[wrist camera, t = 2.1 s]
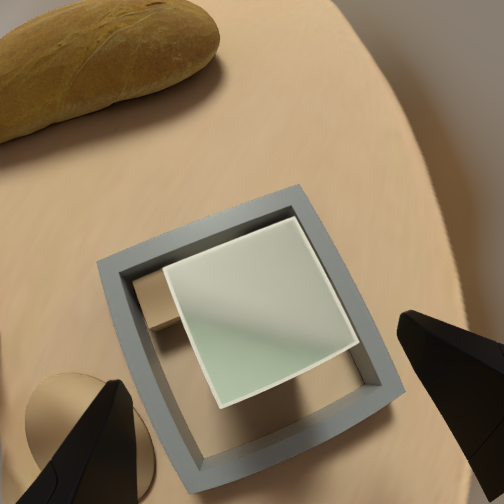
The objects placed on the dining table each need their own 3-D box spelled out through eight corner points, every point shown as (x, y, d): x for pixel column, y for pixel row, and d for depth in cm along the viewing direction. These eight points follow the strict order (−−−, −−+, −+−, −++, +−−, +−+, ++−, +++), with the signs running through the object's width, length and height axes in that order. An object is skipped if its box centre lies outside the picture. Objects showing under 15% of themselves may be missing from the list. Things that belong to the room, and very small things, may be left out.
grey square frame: (386, 389, 17) (405, 391, 15) (195, 479, 15) (189, 494, 12) (292, 203, 21) (299, 183, 19) (111, 274, 19) (96, 261, 17)
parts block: (200, 314, 19) (197, 308, 17) (157, 332, 18) (148, 328, 16) (183, 272, 20) (178, 261, 18) (141, 289, 19) (132, 281, 17)
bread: (227, 102, 25) (226, 6, 16) (-50, 177, 22) (-93, 132, 12) (213, 21, 32) (213, -42, 22) (-5, 83, 28) (-29, 39, 19)
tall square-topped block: (292, 355, 18) (359, 342, 8) (228, 384, 17) (219, 409, 7) (264, 294, 19) (294, 216, 9) (201, 320, 18) (161, 267, 8)
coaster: (182, 494, 14) (181, 497, 14) (65, 511, 12) (62, 513, 12) (117, 354, 17) (114, 354, 17) (11, 389, 15) (8, 390, 15)
